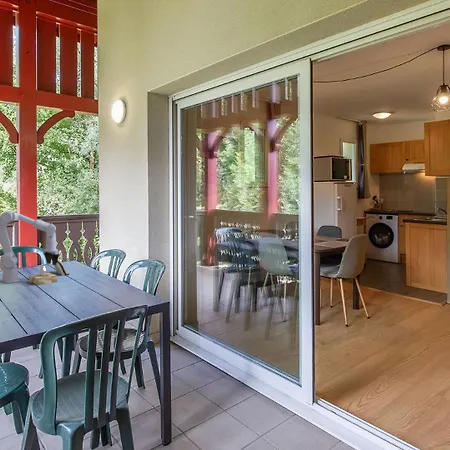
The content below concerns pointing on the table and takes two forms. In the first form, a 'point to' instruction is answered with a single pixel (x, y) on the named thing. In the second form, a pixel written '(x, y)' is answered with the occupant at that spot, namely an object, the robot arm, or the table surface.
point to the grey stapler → (61, 268)
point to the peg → (43, 271)
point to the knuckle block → (43, 279)
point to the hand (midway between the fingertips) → (51, 264)
